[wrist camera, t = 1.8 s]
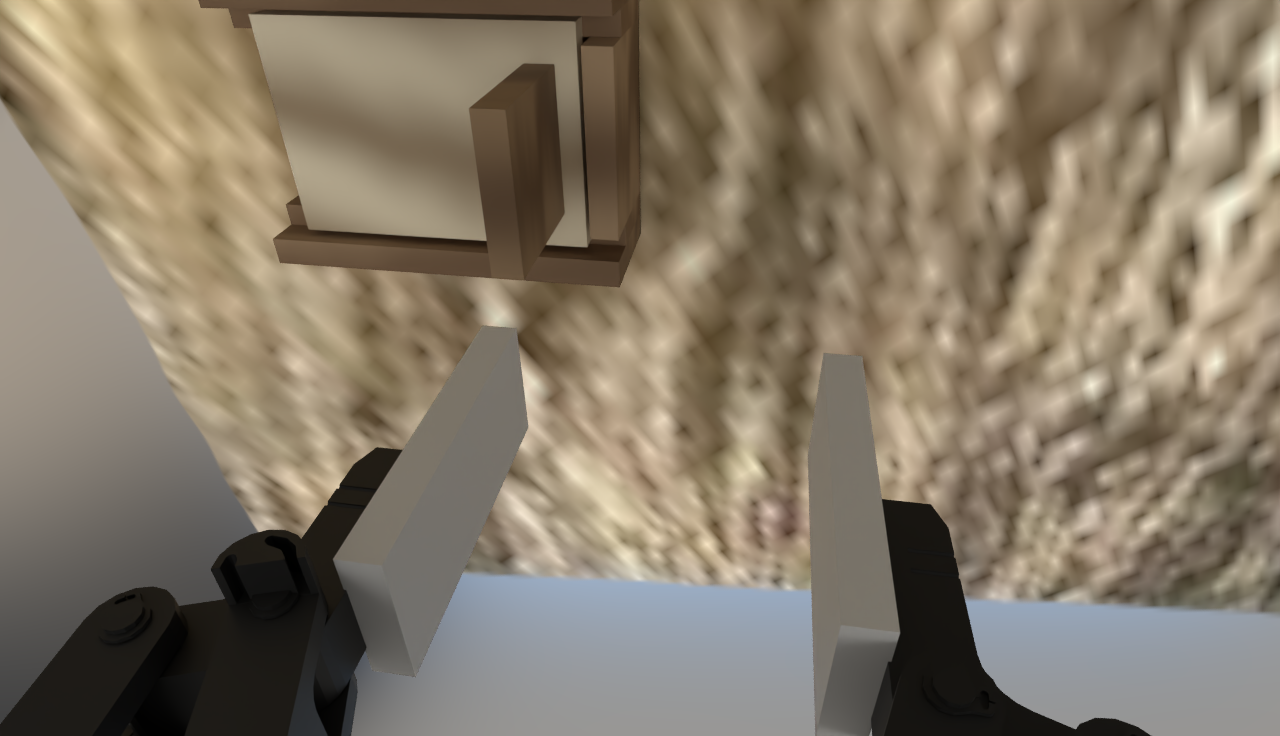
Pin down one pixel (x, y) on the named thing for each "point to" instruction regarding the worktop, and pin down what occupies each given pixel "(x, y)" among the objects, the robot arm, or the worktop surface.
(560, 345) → the worktop surface
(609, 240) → the walnut box
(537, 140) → the cover plate
